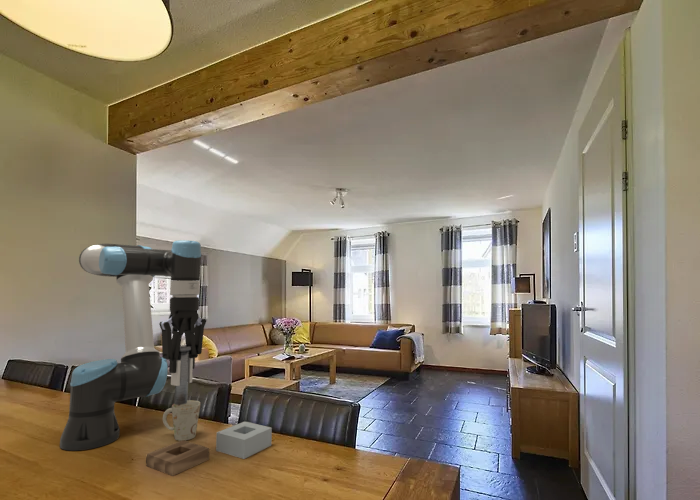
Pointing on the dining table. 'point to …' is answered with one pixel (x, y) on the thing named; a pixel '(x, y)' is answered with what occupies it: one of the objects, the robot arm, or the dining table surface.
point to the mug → (183, 419)
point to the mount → (177, 457)
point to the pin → (183, 376)
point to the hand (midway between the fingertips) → (181, 383)
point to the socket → (243, 439)
